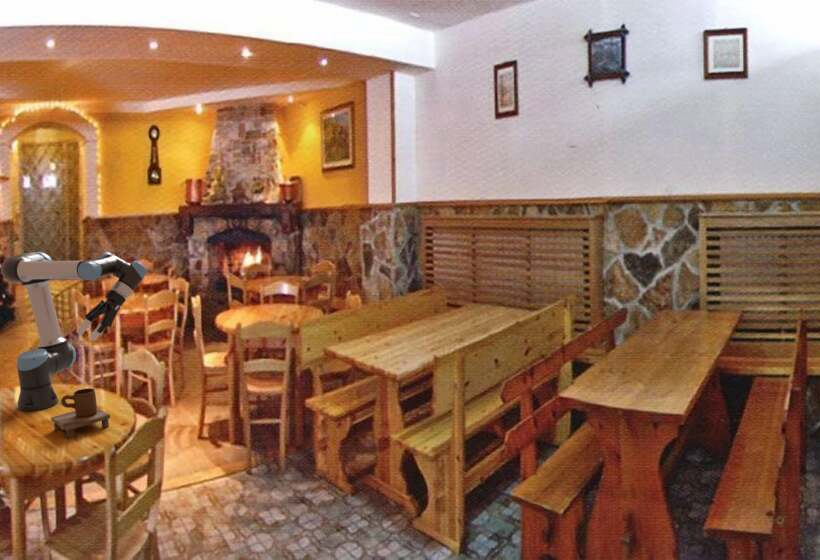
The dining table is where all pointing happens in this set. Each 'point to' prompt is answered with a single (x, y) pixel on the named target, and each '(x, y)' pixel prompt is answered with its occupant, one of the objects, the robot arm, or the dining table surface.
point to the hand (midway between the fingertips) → (85, 336)
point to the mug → (82, 402)
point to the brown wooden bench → (78, 421)
